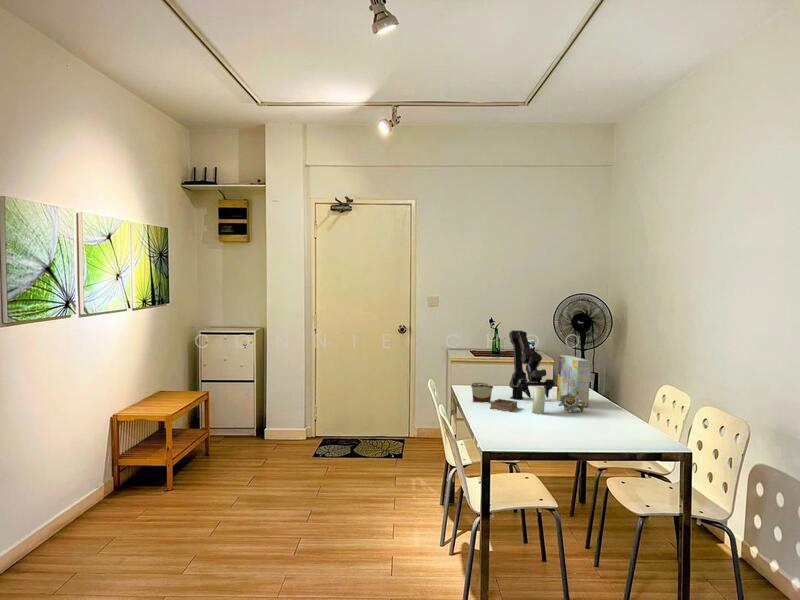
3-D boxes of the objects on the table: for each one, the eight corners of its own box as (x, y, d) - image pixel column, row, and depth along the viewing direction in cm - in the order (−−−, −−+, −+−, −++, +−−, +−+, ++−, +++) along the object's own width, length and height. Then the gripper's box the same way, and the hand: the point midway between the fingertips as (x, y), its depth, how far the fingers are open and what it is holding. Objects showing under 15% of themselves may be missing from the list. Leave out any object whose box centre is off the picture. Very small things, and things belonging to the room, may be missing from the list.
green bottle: (534, 411, 300) (535, 385, 299) (545, 412, 297) (546, 387, 296) (530, 413, 295) (531, 387, 294) (541, 415, 292) (543, 389, 291)
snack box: (589, 407, 314) (592, 360, 313) (575, 407, 312) (577, 360, 311) (569, 398, 335) (571, 354, 334) (555, 399, 333) (557, 354, 332)
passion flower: (569, 422, 299) (557, 404, 298) (565, 414, 310) (554, 396, 308) (588, 412, 297) (576, 393, 295) (584, 404, 307) (572, 386, 306)
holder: (498, 405, 311) (498, 398, 311) (517, 408, 305) (517, 401, 305) (489, 408, 302) (490, 402, 302) (509, 412, 296) (510, 405, 296)
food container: (492, 400, 323) (492, 382, 322) (492, 403, 317) (493, 384, 316) (470, 399, 324) (470, 381, 324) (470, 401, 318) (471, 383, 317)
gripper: (519, 363, 299) (525, 388, 288) (554, 364, 301) (561, 388, 290) (514, 376, 307) (519, 400, 297) (548, 376, 309) (554, 401, 298)
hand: (538, 397), depth 295 cm, fingers open, 9 cm apart
